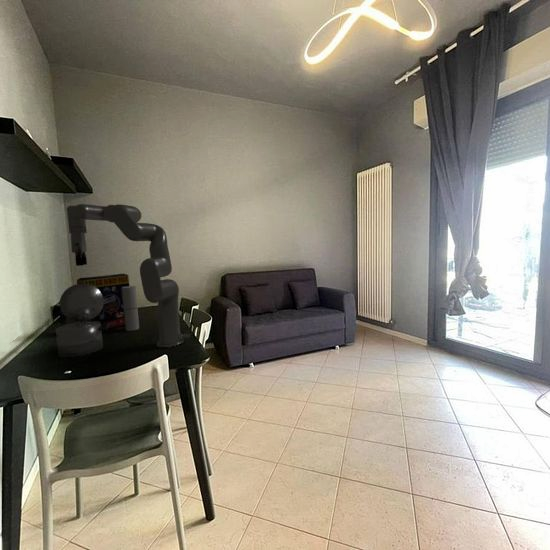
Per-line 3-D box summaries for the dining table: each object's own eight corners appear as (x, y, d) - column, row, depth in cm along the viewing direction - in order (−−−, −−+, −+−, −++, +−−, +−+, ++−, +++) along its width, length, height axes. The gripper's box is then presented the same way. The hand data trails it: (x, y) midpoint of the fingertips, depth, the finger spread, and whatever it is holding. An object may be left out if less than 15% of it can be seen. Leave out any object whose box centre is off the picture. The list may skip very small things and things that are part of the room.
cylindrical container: (134, 330, 177) (130, 287, 174) (123, 330, 178) (118, 288, 175) (141, 327, 184) (138, 286, 181) (131, 327, 185) (127, 286, 182)
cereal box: (126, 321, 201) (120, 272, 198) (135, 323, 194) (129, 272, 191) (81, 332, 180) (74, 278, 177) (89, 334, 173) (82, 278, 170)
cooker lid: (104, 318, 157) (105, 318, 160) (102, 281, 158) (103, 282, 161) (60, 323, 150) (63, 323, 153) (58, 285, 151) (60, 285, 154)
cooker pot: (112, 340, 160) (110, 317, 159) (106, 352, 142) (104, 327, 140) (58, 347, 152) (55, 324, 150) (44, 361, 134) (41, 334, 132)
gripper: (73, 231, 164) (77, 264, 166) (64, 229, 148) (68, 266, 150) (89, 231, 167) (93, 263, 169) (82, 229, 151) (86, 265, 153)
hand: (81, 264), depth 159 cm, fingers open, 6 cm apart
